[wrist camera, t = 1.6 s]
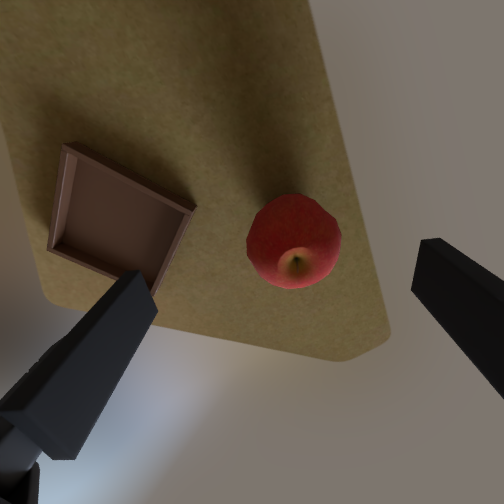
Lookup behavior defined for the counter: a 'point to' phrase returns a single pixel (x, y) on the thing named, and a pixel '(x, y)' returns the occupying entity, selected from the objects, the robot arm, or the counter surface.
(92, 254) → the tray
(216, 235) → the counter surface
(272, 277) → the apple
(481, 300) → the robot arm
